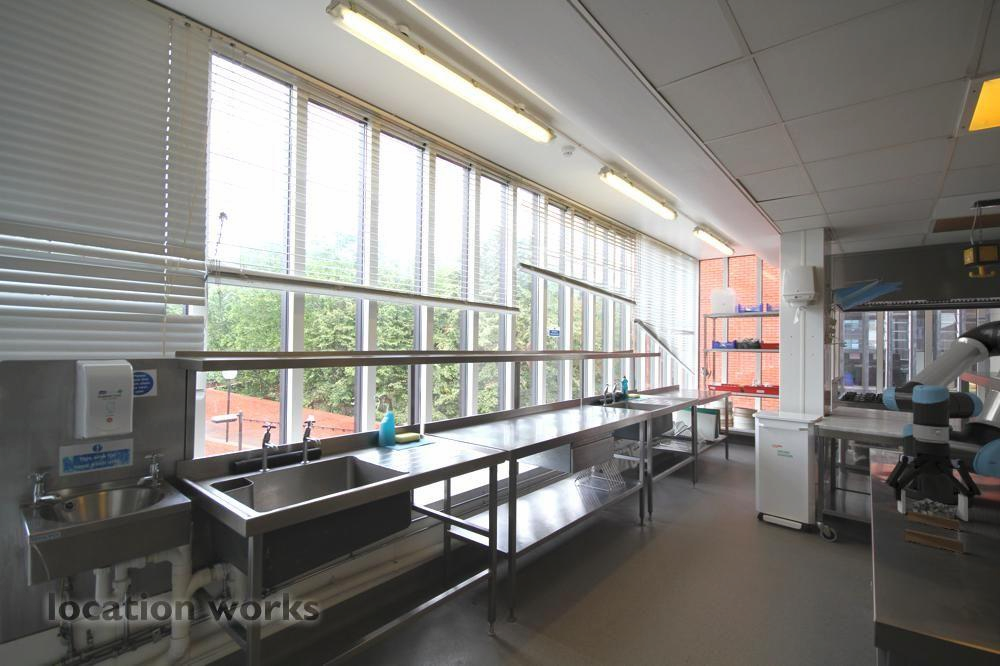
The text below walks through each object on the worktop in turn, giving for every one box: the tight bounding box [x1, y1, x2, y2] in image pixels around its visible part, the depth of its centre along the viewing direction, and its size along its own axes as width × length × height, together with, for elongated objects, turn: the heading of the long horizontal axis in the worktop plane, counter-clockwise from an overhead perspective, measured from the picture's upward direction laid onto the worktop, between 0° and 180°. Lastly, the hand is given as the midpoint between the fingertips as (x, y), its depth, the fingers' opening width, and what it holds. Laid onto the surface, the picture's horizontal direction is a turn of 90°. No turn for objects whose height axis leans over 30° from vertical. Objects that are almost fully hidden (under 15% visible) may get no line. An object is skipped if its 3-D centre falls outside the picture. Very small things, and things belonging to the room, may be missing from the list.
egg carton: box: [907, 498, 957, 519], centre depth 128 cm, size 11×8×4 cm
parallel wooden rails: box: [904, 510, 964, 554], centre depth 115 cm, size 19×10×2 cm, turn 137°
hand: (931, 516), depth 128 cm, fingers open, 13 cm apart
